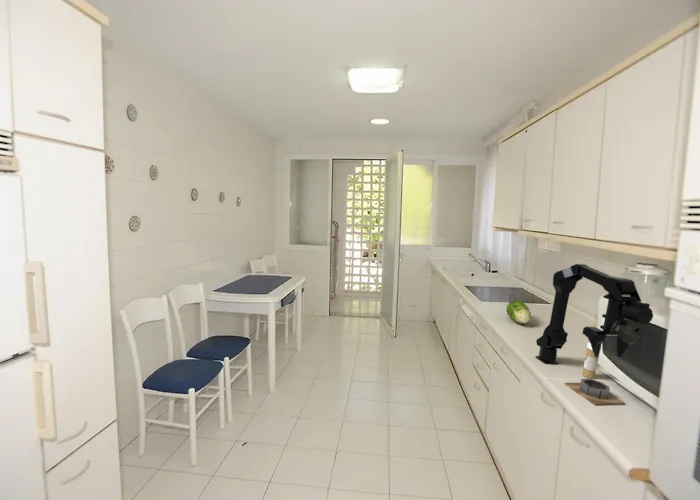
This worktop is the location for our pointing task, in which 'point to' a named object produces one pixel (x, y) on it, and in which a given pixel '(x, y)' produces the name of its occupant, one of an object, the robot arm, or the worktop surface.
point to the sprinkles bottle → (590, 363)
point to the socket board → (610, 401)
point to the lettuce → (518, 311)
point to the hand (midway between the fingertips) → (607, 356)
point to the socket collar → (594, 388)
